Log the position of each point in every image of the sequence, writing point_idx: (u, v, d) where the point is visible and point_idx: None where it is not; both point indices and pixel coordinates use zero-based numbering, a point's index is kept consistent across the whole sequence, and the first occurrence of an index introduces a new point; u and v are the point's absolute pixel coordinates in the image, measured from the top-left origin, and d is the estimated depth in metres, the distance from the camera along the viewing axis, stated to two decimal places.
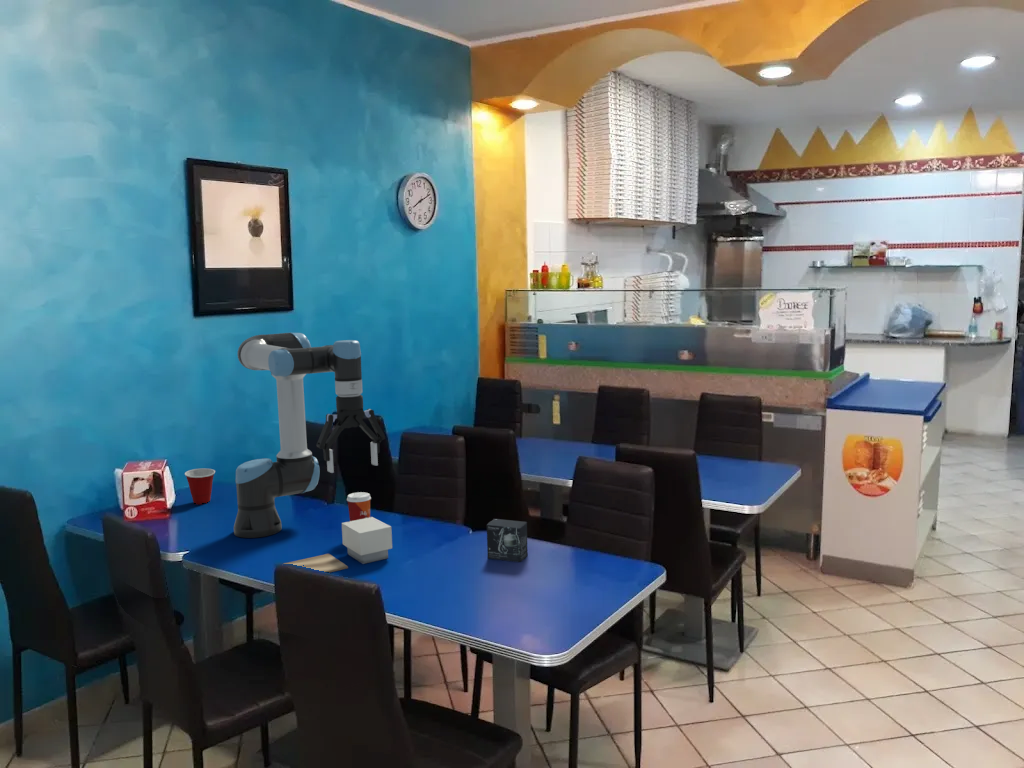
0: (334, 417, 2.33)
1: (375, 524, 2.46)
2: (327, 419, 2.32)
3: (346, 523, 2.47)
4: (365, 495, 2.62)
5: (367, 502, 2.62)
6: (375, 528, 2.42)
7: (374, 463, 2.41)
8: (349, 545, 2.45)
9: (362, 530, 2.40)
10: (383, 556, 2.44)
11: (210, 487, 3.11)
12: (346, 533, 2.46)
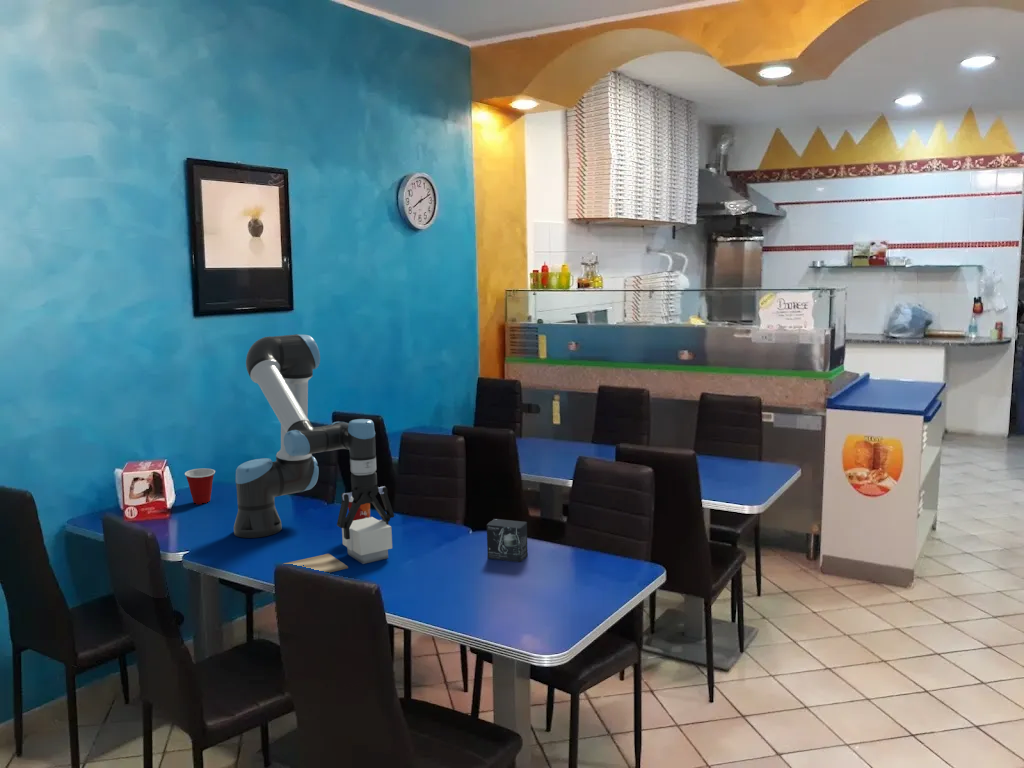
0: (349, 495, 2.41)
1: (375, 524, 2.46)
2: (343, 499, 2.41)
3: None
4: None
5: None
6: (375, 528, 2.42)
7: None
8: None
9: (362, 530, 2.40)
10: (383, 556, 2.44)
11: (210, 487, 3.11)
12: None
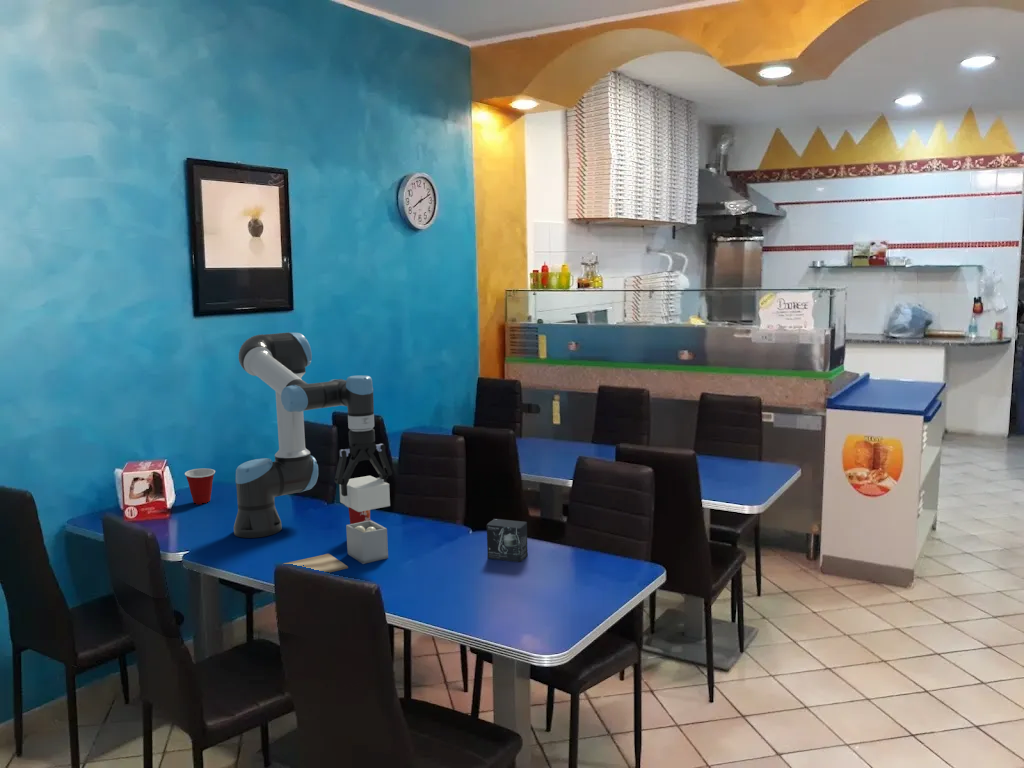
0: (347, 452, 2.40)
1: (373, 482, 2.44)
2: (341, 455, 2.39)
3: None
4: None
5: None
6: (373, 485, 2.40)
7: None
8: None
9: (360, 487, 2.39)
10: (383, 556, 2.44)
11: (210, 487, 3.11)
12: None
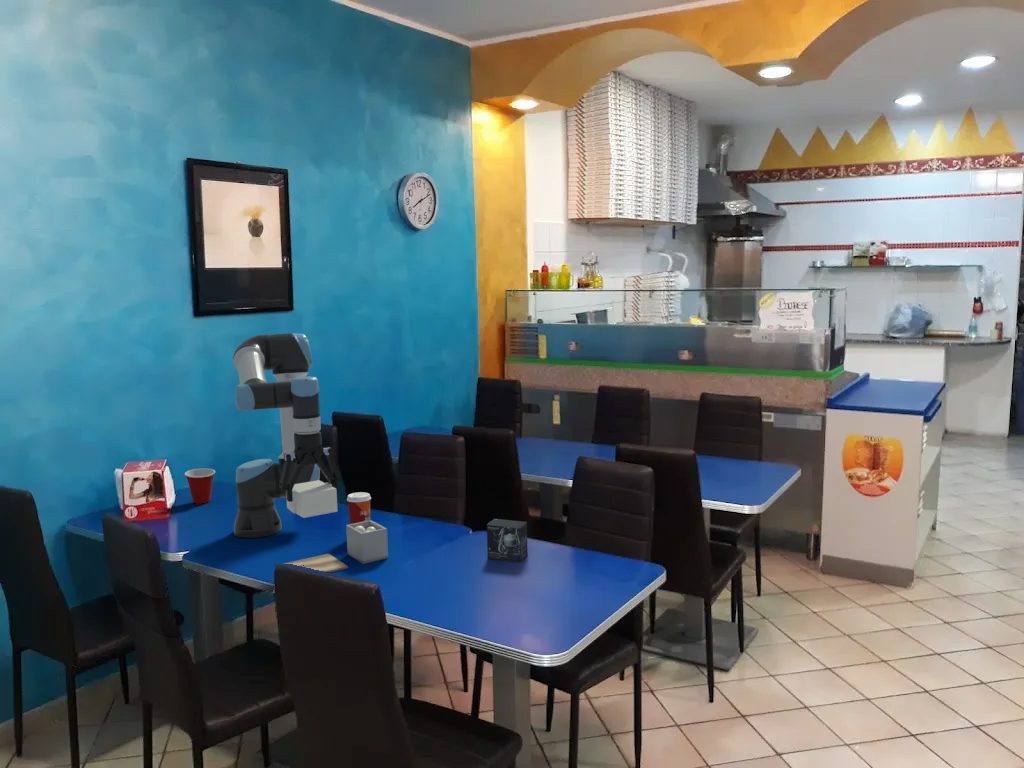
0: (292, 456, 2.31)
1: (320, 486, 2.35)
2: (285, 459, 2.31)
3: None
4: (365, 495, 2.62)
5: (367, 502, 2.62)
6: (319, 490, 2.32)
7: None
8: None
9: (305, 492, 2.30)
10: (383, 556, 2.44)
11: (210, 487, 3.11)
12: None
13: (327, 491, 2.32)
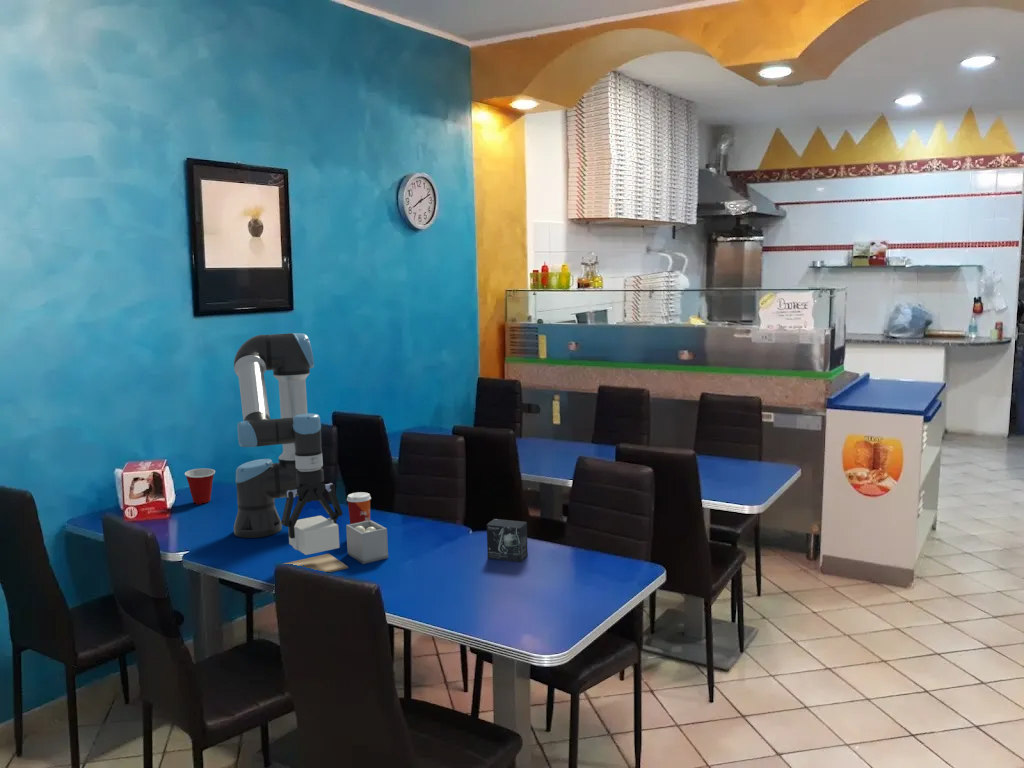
0: (294, 493, 2.33)
1: (322, 523, 2.37)
2: (287, 496, 2.32)
3: None
4: (365, 495, 2.62)
5: (367, 502, 2.62)
6: (321, 527, 2.33)
7: None
8: None
9: (307, 529, 2.31)
10: (383, 556, 2.44)
11: (210, 487, 3.11)
12: None
13: (329, 528, 2.33)
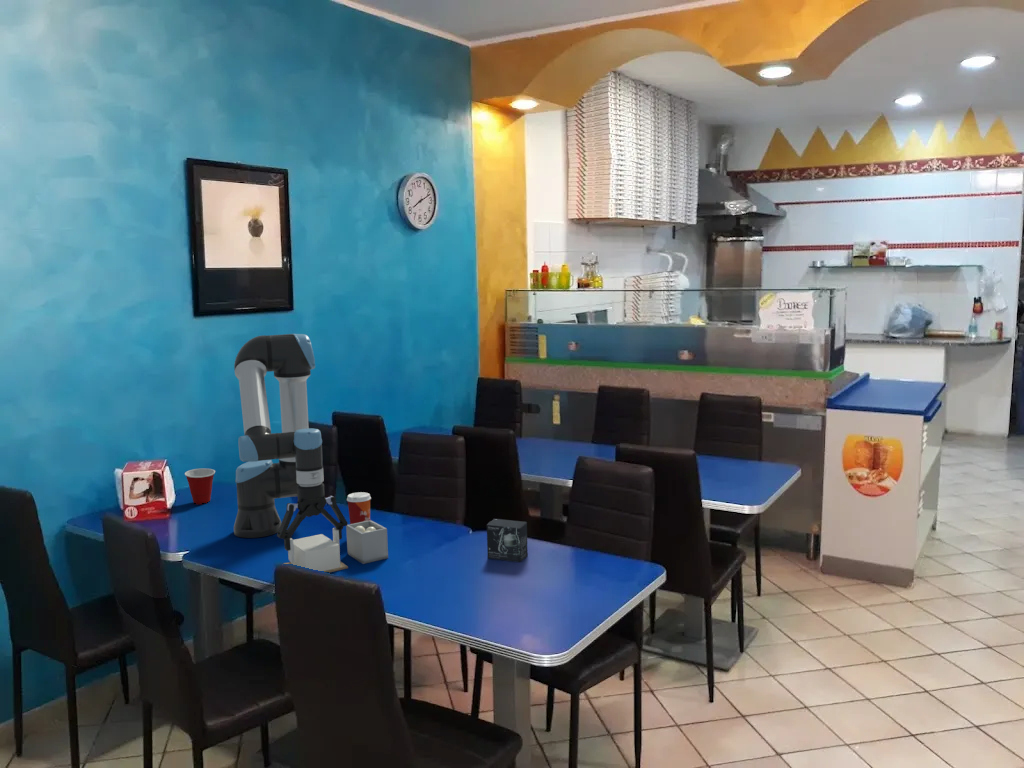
0: (295, 506, 2.33)
1: (323, 542, 2.38)
2: (288, 509, 2.32)
3: (293, 541, 2.40)
4: (365, 495, 2.62)
5: (367, 502, 2.62)
6: (322, 546, 2.34)
7: None
8: (296, 564, 2.37)
9: (308, 549, 2.32)
10: (383, 556, 2.44)
11: (210, 487, 3.11)
12: None
13: (330, 548, 2.34)
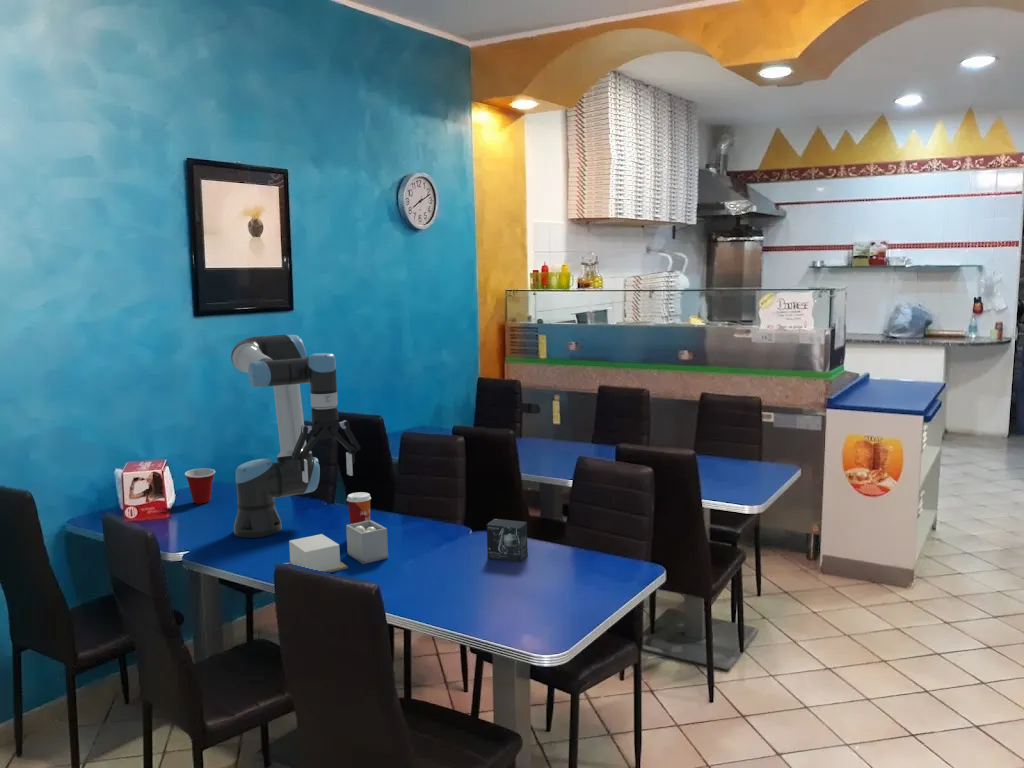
0: (309, 429, 2.38)
1: (323, 542, 2.38)
2: (302, 430, 2.37)
3: (293, 541, 2.40)
4: (365, 495, 2.62)
5: (367, 502, 2.62)
6: (322, 546, 2.34)
7: (349, 473, 2.46)
8: (296, 564, 2.37)
9: (308, 549, 2.32)
10: (383, 556, 2.44)
11: (210, 487, 3.11)
12: (293, 551, 2.38)
13: (330, 548, 2.34)
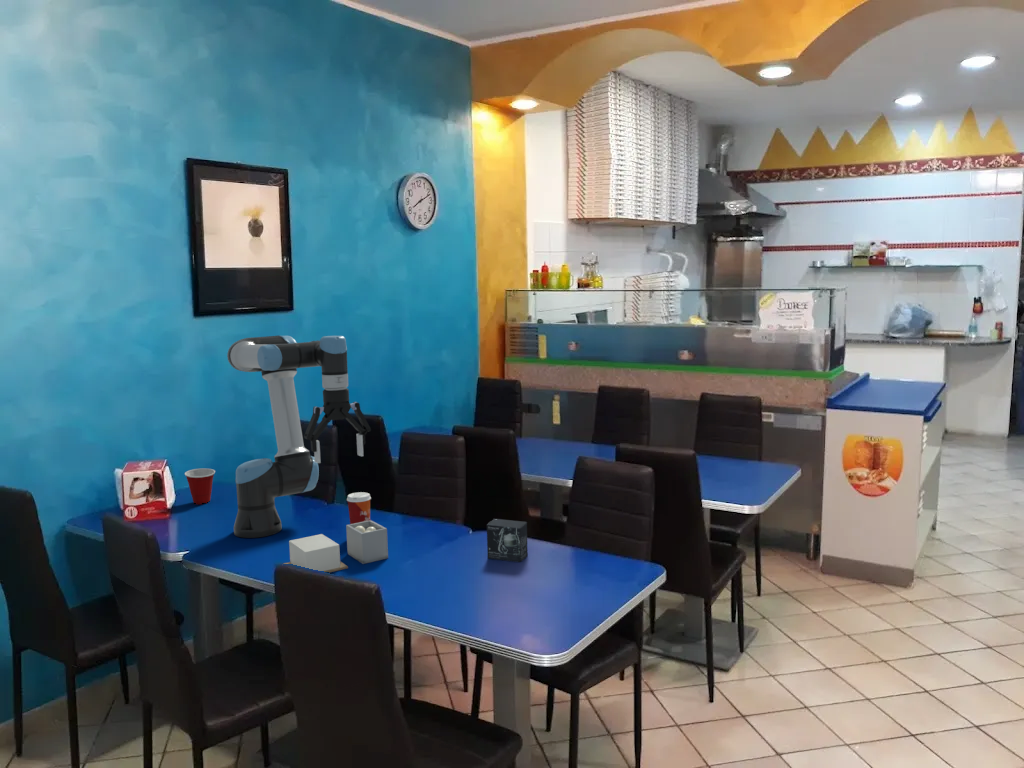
0: (321, 409, 2.42)
1: (323, 542, 2.38)
2: (314, 411, 2.42)
3: (293, 541, 2.40)
4: (365, 495, 2.62)
5: (367, 502, 2.62)
6: (322, 546, 2.34)
7: (360, 454, 2.50)
8: (296, 564, 2.37)
9: (308, 549, 2.32)
10: (383, 556, 2.44)
11: (210, 487, 3.11)
12: (293, 551, 2.38)
13: (330, 548, 2.34)
